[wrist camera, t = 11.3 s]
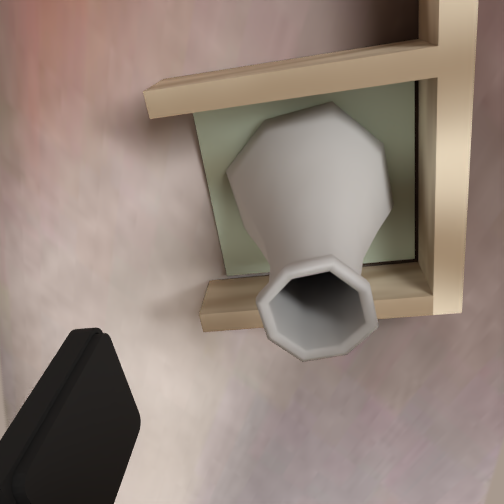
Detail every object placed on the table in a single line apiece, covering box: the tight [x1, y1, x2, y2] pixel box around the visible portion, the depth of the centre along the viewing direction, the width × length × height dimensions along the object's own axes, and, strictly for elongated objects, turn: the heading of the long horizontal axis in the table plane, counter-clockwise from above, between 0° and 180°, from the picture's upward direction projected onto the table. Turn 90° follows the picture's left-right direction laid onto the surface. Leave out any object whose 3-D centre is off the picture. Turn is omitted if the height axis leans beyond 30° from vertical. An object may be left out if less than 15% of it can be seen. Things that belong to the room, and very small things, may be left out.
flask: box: [226, 101, 394, 362], centre depth 17 cm, size 7×7×10 cm
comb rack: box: [143, 0, 478, 332], centre depth 18 cm, size 21×12×3 cm, turn 9°
